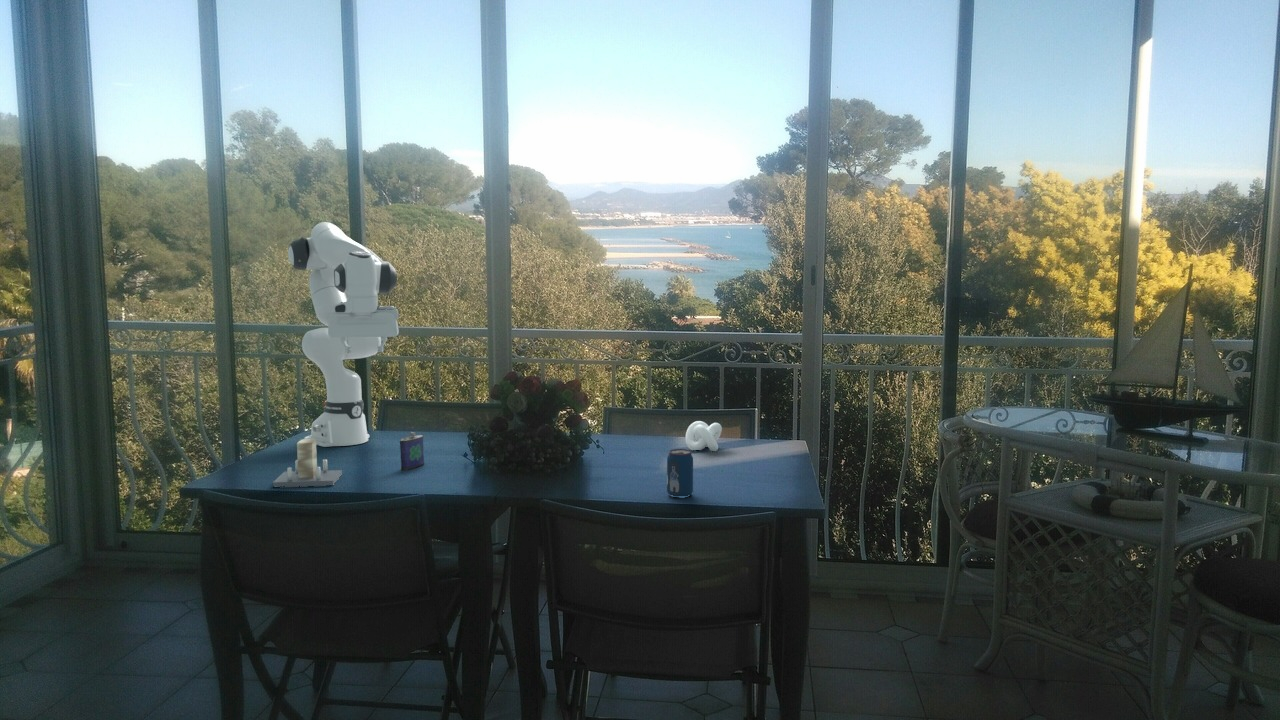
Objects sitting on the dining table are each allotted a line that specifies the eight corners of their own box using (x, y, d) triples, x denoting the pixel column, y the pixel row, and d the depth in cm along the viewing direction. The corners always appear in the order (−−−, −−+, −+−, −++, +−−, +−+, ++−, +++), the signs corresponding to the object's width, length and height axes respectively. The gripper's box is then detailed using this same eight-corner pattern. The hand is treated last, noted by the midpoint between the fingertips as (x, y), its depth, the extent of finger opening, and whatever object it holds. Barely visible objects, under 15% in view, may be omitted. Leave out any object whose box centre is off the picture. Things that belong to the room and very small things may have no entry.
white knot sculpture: (680, 452, 296) (680, 425, 295) (690, 444, 307) (690, 418, 306) (715, 455, 293) (715, 427, 291) (723, 447, 304) (724, 420, 303)
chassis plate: (273, 487, 253) (272, 469, 253) (284, 476, 265) (283, 459, 265) (333, 485, 255) (332, 468, 255) (341, 475, 267) (341, 458, 266)
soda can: (691, 491, 249) (692, 448, 248) (694, 499, 242) (694, 454, 241) (666, 492, 249) (666, 448, 247) (667, 499, 242) (667, 454, 241)
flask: (419, 463, 282) (418, 428, 280) (427, 464, 280) (426, 429, 279) (398, 469, 273) (397, 434, 272) (406, 471, 272) (405, 435, 271)
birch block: (298, 478, 257) (296, 443, 256) (302, 473, 262) (301, 439, 261) (313, 477, 258) (311, 442, 257) (317, 473, 263) (315, 439, 262)
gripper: (399, 305, 280) (401, 350, 282) (330, 305, 278) (332, 351, 279) (396, 306, 274) (398, 352, 276) (325, 307, 271) (327, 353, 273)
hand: (364, 352), depth 277 cm, fingers open, 8 cm apart
